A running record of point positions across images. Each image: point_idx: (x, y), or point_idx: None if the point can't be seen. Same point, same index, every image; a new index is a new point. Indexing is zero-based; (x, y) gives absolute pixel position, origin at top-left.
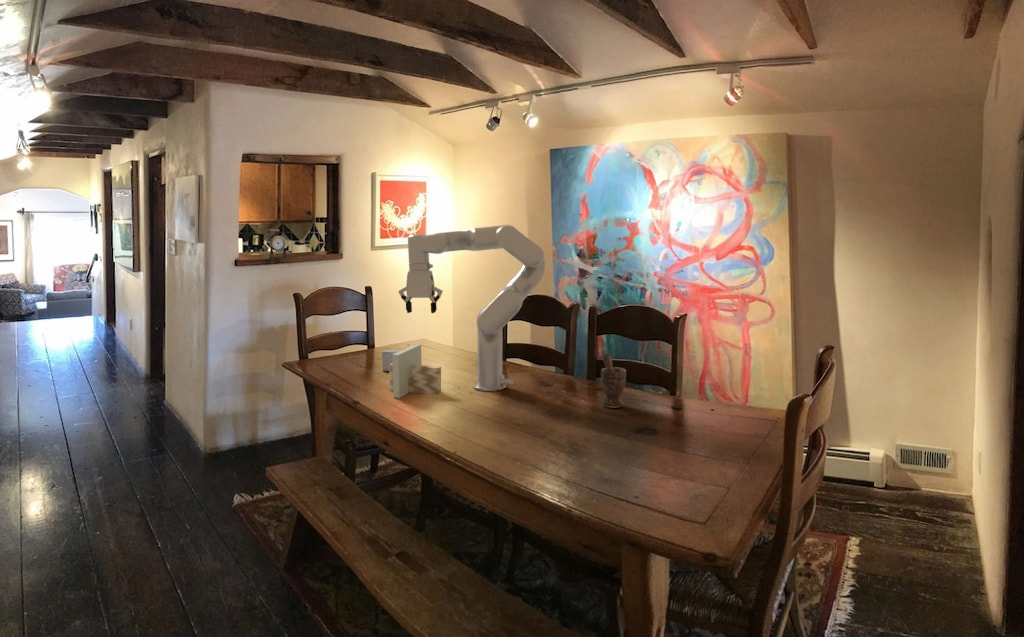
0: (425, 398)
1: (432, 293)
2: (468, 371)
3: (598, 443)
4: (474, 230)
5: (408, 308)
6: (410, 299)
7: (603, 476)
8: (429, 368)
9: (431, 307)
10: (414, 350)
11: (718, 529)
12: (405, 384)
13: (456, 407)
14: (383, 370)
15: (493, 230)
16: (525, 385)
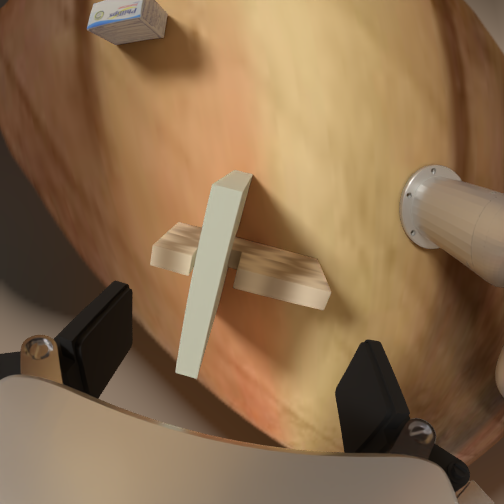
0: (281, 306)
1: (423, 482)
2: (369, 24)
3: (461, 427)
4: None
5: (114, 369)
6: (62, 380)
7: None
8: (293, 302)
9: (346, 430)
10: (225, 260)
11: None
12: (222, 286)
13: (348, 359)
14: (116, 44)
15: None
16: None
